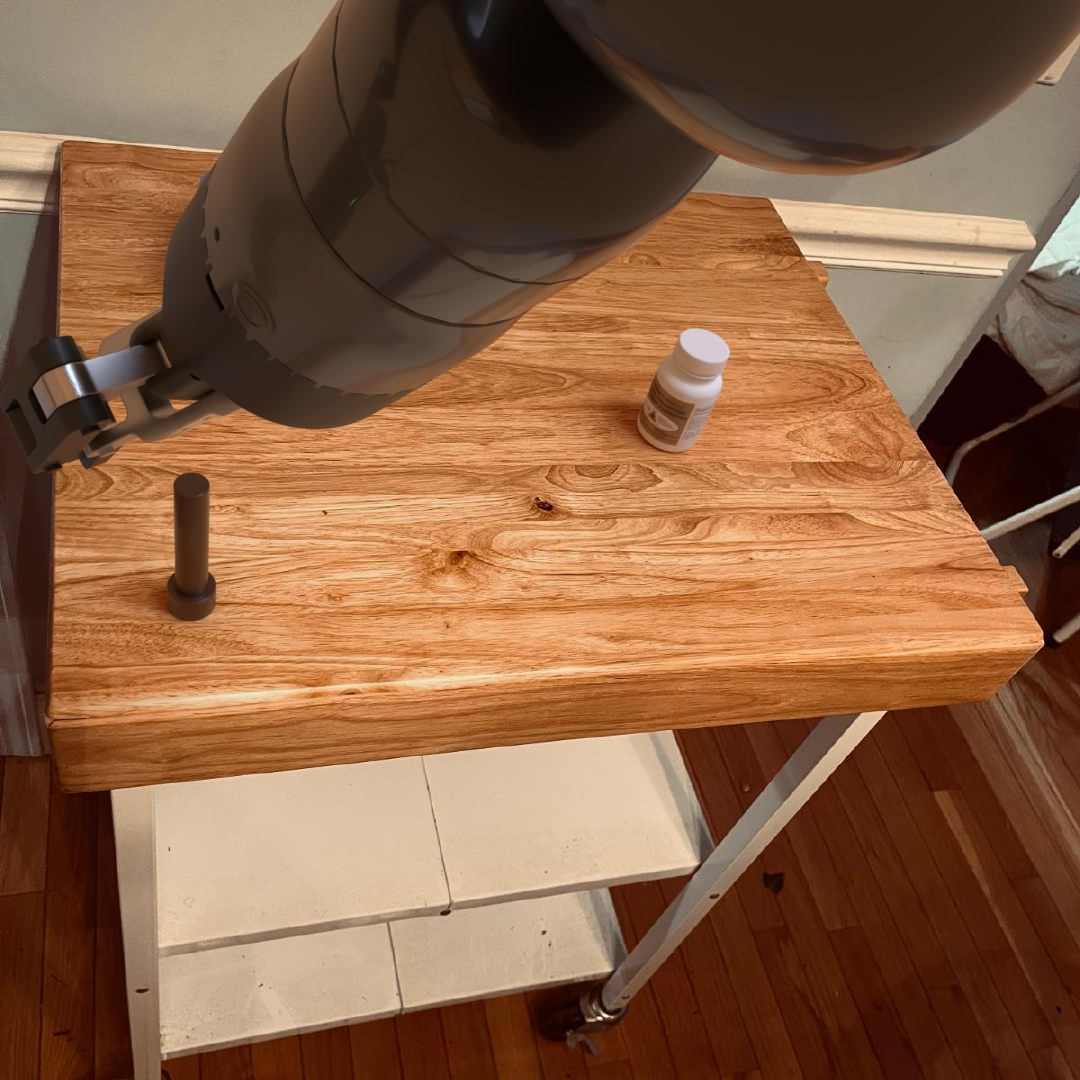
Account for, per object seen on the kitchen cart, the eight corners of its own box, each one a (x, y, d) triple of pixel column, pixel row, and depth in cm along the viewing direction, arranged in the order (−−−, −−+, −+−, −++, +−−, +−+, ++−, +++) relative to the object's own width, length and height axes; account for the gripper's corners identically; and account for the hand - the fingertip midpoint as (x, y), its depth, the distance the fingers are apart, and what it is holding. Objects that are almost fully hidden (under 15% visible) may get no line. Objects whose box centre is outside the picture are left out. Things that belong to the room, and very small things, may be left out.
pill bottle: (622, 421, 73) (658, 332, 68) (666, 403, 76) (704, 316, 70) (665, 462, 72) (705, 375, 66) (708, 442, 74) (751, 356, 69)
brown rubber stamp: (186, 628, 54) (185, 511, 48) (157, 598, 55) (153, 479, 49) (225, 606, 56) (229, 489, 49) (197, 577, 57) (197, 458, 50)
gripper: (520, 57, 30) (314, 261, 43) (-2, 154, 22) (-53, 365, 36) (623, 308, 31) (390, 431, 44) (153, 485, 23) (46, 569, 37)
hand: (192, 401), depth 40 cm, fingers open, 8 cm apart
